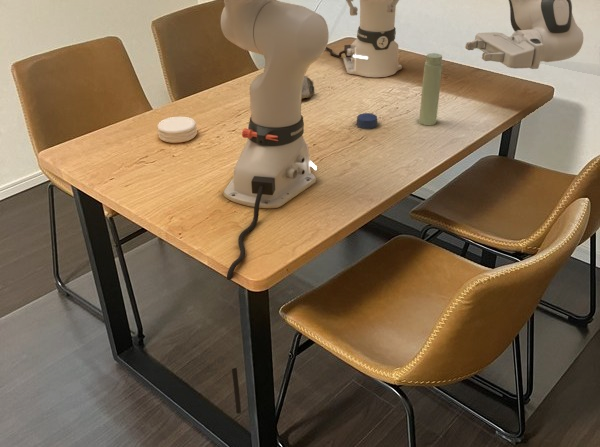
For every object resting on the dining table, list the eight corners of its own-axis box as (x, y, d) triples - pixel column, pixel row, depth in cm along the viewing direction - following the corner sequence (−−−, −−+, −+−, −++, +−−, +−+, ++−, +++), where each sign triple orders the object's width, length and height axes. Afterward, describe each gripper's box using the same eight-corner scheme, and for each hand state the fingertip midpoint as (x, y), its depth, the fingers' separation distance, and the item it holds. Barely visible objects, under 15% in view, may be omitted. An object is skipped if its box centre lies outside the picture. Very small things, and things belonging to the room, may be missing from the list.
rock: (319, 95, 186) (318, 72, 182) (294, 104, 180) (293, 80, 176) (285, 84, 195) (284, 62, 192) (261, 93, 189) (259, 70, 186)
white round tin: (160, 128, 167) (158, 116, 165) (197, 126, 168) (196, 114, 166) (157, 144, 158) (155, 132, 157) (196, 142, 159) (195, 129, 157)
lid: (370, 130, 165) (370, 122, 163) (352, 125, 167) (353, 118, 166) (380, 123, 168) (381, 115, 167) (363, 119, 171) (363, 111, 170)
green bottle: (427, 117, 172) (433, 51, 162) (439, 122, 168) (447, 55, 159) (415, 121, 169) (421, 55, 159) (428, 126, 166) (435, 59, 156)
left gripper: (334, -43, 140) (333, 19, 148) (420, -47, 143) (415, 14, 151) (328, -47, 146) (328, 13, 153) (411, -51, 149) (407, 8, 156)
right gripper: (505, 25, 171) (458, 28, 168) (546, 46, 154) (495, 50, 151) (501, 47, 174) (455, 51, 171) (541, 71, 157) (491, 75, 155)
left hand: (372, 13), depth 152 cm, fingers open, 8 cm apart
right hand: (474, 51), depth 161 cm, fingers open, 8 cm apart
